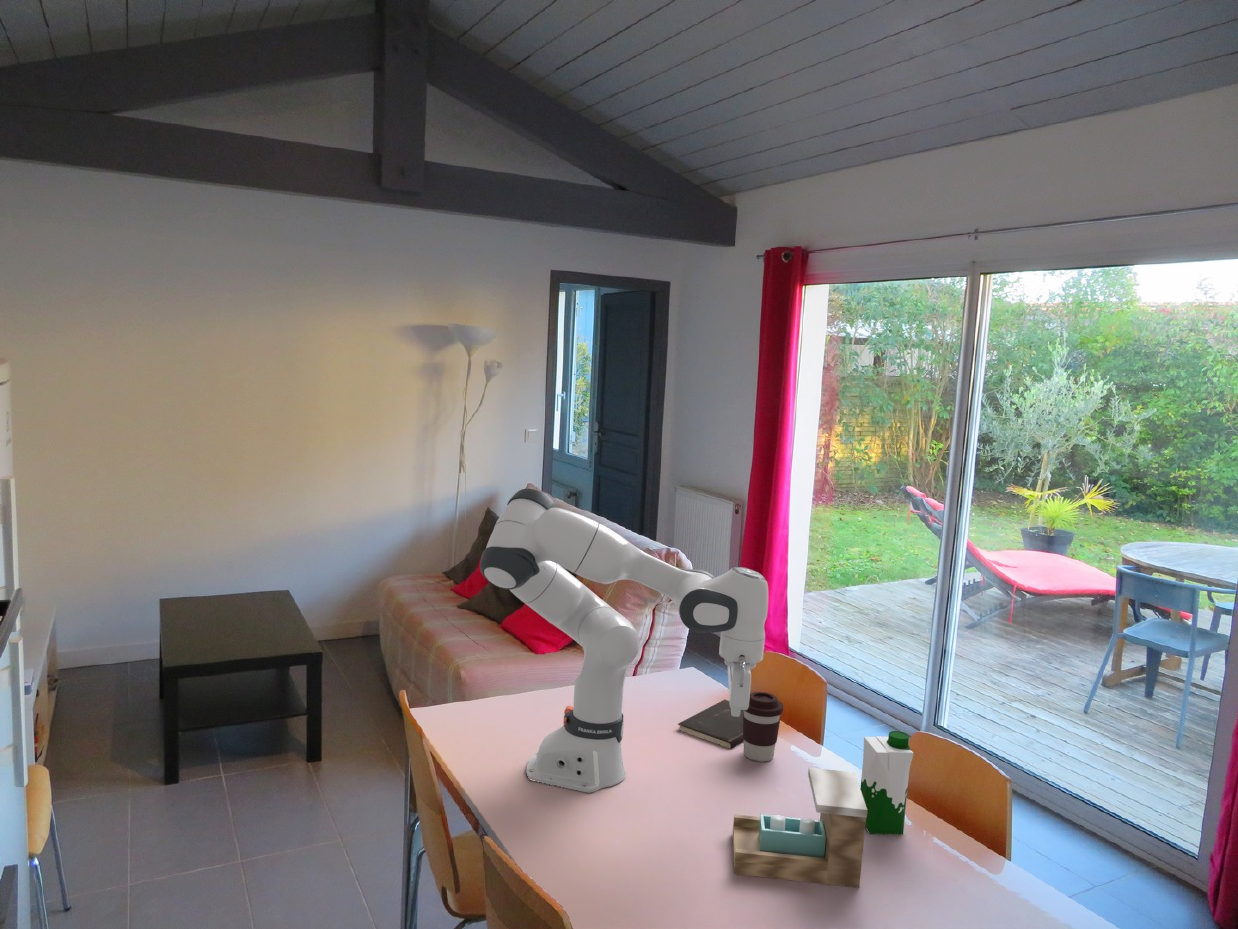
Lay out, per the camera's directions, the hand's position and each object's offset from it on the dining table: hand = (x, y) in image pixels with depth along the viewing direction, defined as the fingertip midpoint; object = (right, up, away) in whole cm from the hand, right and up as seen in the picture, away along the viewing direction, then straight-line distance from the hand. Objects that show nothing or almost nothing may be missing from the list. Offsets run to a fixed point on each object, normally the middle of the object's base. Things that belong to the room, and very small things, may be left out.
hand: (735, 714), depth 182 cm
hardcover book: (+5, -19, +53) cm, 56 cm away
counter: (+10, -26, -9) cm, 29 cm away
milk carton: (+31, -25, +6) cm, 41 cm away
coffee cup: (+10, -20, +36) cm, 43 cm away
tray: (+9, -23, -9) cm, 27 cm away
